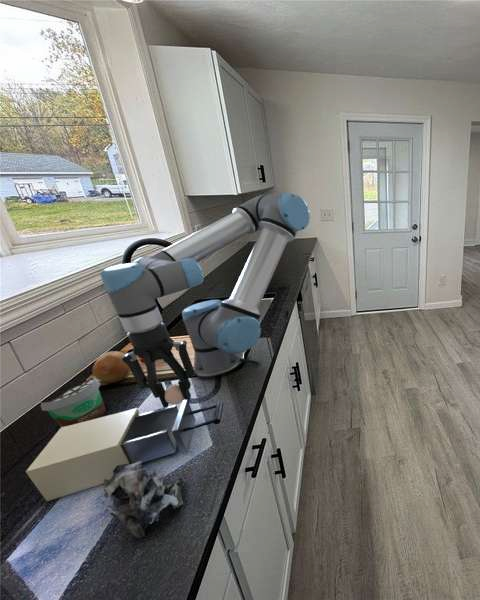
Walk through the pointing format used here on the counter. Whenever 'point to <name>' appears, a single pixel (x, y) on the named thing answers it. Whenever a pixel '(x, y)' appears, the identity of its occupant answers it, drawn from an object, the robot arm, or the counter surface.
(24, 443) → the counter surface
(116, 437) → the cream drawer box
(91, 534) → the counter surface
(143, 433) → the grey drawer
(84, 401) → the food container
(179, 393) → the egg
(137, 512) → the foil
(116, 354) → the onion
